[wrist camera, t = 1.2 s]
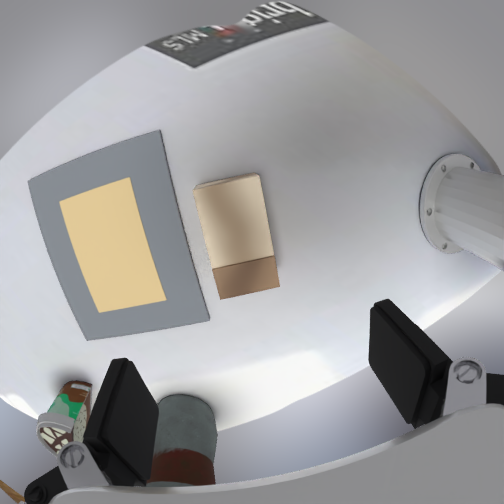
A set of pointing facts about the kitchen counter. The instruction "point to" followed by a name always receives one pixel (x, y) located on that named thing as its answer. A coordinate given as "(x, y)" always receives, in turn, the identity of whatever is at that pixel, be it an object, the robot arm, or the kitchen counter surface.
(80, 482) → the robot arm
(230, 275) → the birch block
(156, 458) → the bottle
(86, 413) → the food container
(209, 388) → the kitchen counter surface
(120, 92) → the kitchen counter surface
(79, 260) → the mat
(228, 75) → the kitchen counter surface
